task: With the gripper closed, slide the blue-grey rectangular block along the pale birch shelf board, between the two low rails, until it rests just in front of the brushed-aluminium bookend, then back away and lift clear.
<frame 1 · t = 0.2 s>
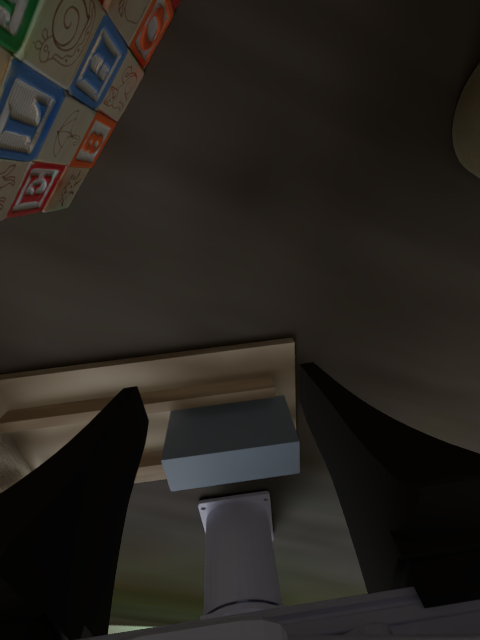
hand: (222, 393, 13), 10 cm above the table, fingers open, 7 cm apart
blue-grey rectangular block: (230, 417, 25), point 1 cm above the table, touching shelf slot
shelf slot: (154, 421, 26), on the table
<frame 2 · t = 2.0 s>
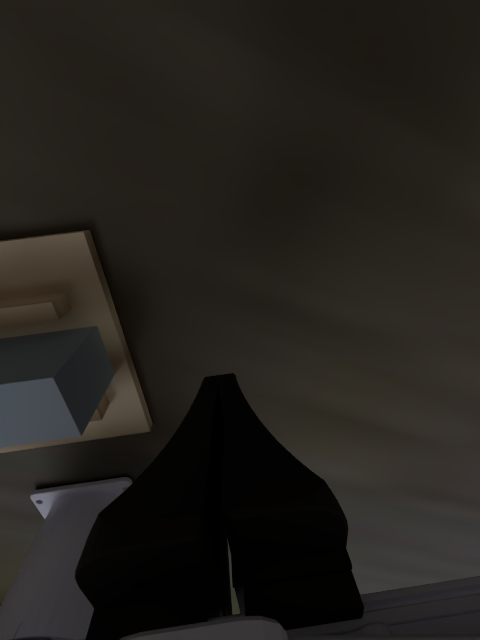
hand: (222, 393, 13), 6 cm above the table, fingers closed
blue-grey rectangular block: (24, 362, 17), point 1 cm above the table, touching shelf slot
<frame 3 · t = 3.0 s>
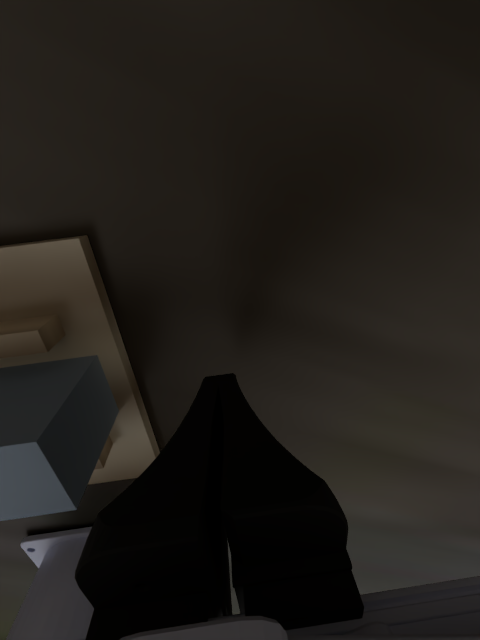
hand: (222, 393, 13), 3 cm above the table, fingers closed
blue-grey rectangular block: (7, 398, 14), point 1 cm above the table, touching shelf slot
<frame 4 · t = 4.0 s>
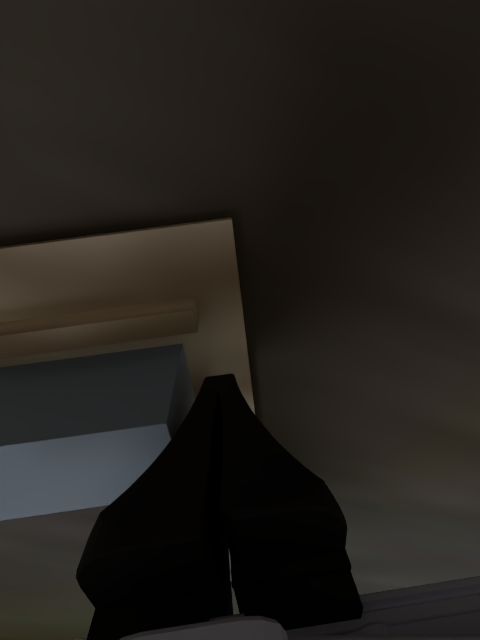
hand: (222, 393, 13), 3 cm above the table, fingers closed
blue-grey rectangular block: (89, 386, 14), point 1 cm above the table, touching shelf slot
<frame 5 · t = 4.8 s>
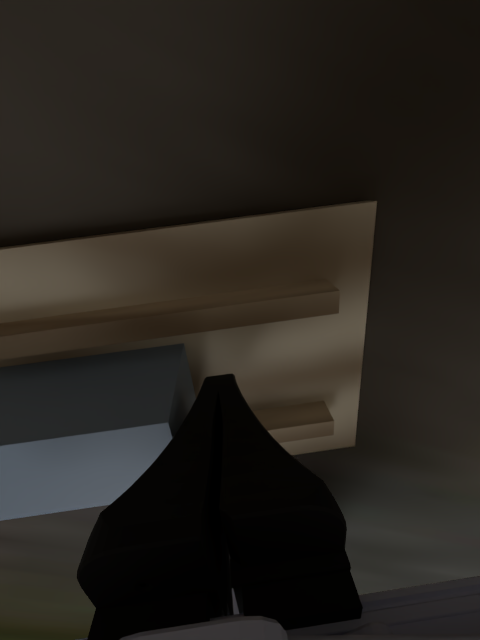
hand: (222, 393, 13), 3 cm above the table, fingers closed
blue-grey rectangular block: (90, 386, 14), point 1 cm above the table, touching gripper, shelf slot
shelf slot: (112, 375, 15), on the table
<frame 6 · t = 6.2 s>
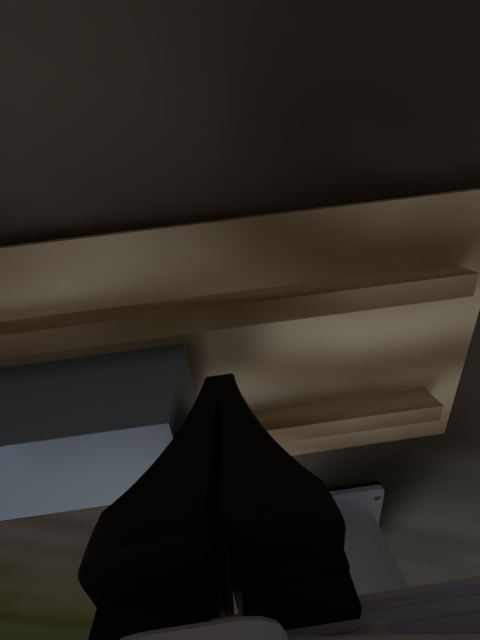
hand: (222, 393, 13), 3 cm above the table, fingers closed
blue-grey rectangular block: (90, 386, 14), point 1 cm above the table, touching gripper, shelf slot
shelf slot: (220, 360, 15), on the table
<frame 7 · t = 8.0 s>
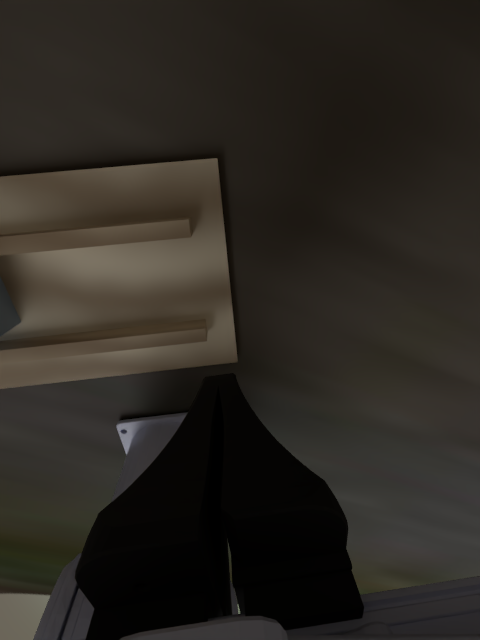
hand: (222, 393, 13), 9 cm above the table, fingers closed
shelf slot: (40, 291, 19), on the table
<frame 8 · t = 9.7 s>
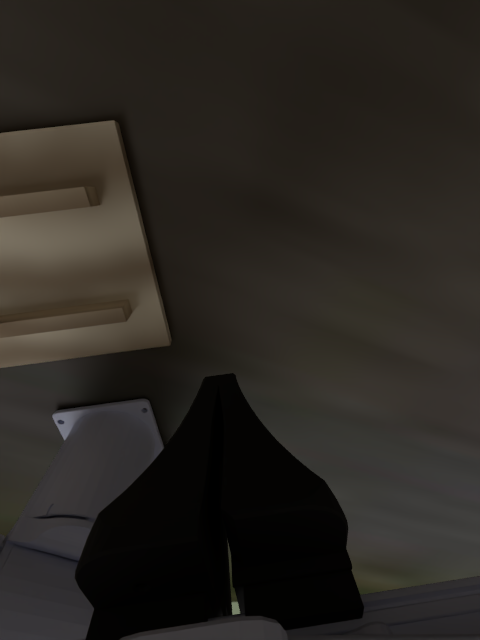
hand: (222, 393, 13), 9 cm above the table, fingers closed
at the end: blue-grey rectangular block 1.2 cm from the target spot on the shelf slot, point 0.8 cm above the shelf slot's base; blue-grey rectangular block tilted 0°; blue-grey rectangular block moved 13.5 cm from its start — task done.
